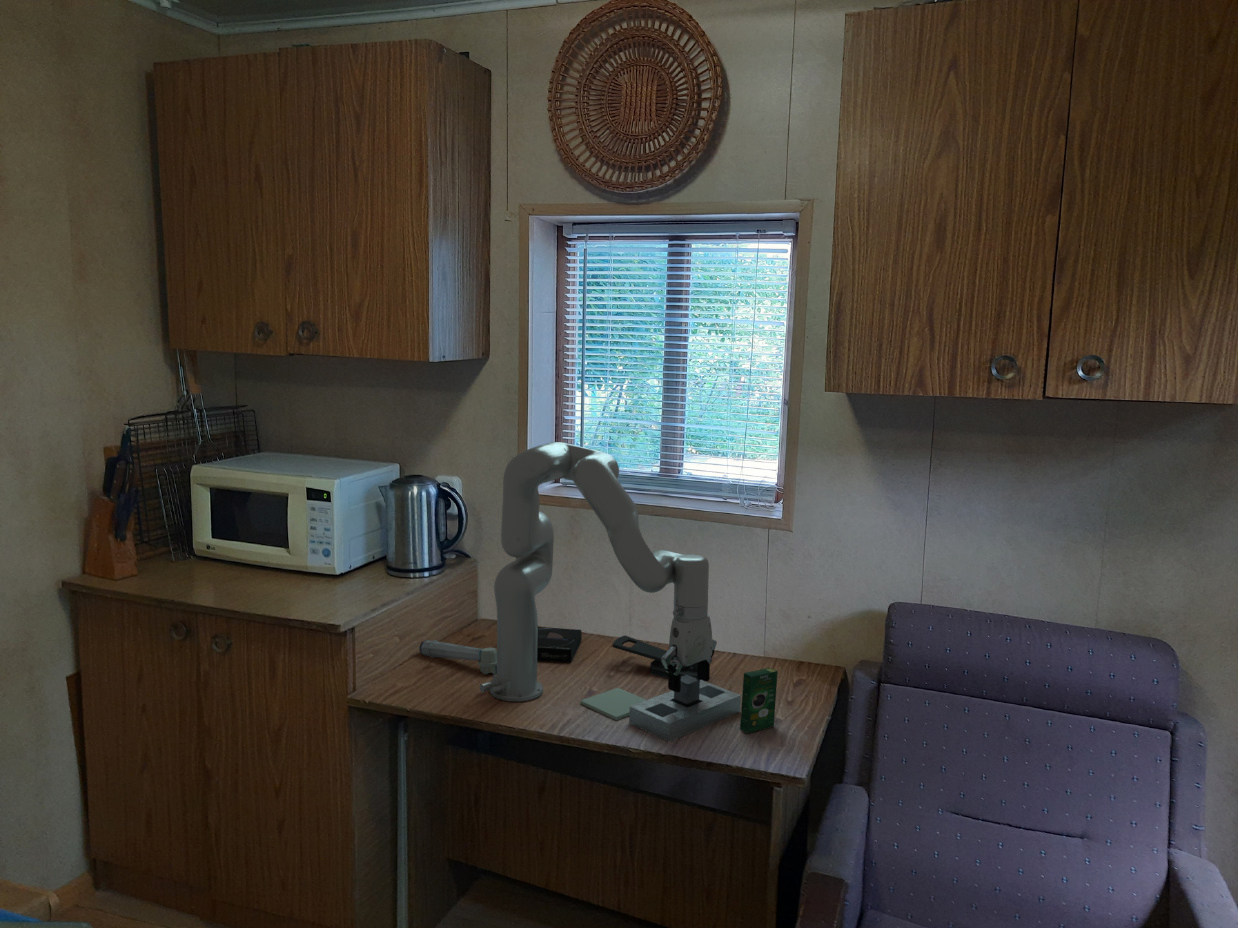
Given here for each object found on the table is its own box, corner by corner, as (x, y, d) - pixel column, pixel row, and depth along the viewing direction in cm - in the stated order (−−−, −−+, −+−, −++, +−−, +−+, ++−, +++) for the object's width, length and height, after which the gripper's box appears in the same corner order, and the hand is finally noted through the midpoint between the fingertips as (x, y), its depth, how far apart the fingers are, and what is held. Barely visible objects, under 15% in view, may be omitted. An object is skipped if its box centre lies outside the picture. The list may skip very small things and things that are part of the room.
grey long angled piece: (430, 637, 243) (504, 643, 230) (433, 661, 243) (507, 669, 230) (416, 642, 238) (491, 649, 225) (419, 667, 239) (494, 675, 226)
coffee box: (766, 721, 204) (769, 665, 203) (775, 726, 202) (778, 669, 200) (739, 729, 200) (742, 672, 198) (747, 734, 198) (750, 676, 196)
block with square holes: (668, 741, 193) (669, 723, 192) (629, 723, 201) (629, 706, 201) (740, 711, 209) (740, 695, 209) (700, 695, 218) (701, 679, 217)
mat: (616, 720, 203) (616, 716, 203) (580, 703, 211) (580, 700, 211) (653, 706, 211) (653, 702, 211) (617, 690, 220) (617, 687, 219)
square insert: (686, 722, 203) (688, 684, 201) (673, 717, 205) (674, 678, 204) (698, 718, 205) (699, 679, 204) (685, 712, 208) (686, 674, 207)
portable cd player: (581, 642, 254) (581, 629, 253) (571, 664, 237) (571, 649, 237) (523, 638, 256) (523, 625, 255) (509, 660, 239) (509, 645, 238)
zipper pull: (623, 633, 242) (713, 649, 231) (622, 657, 242) (711, 674, 232) (608, 643, 233) (701, 660, 223) (608, 668, 234) (700, 686, 224)
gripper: (676, 622, 193) (675, 700, 196) (728, 606, 205) (726, 679, 207) (651, 615, 199) (650, 690, 201) (703, 599, 210) (701, 671, 213)
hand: (688, 684), depth 204 cm, fingers open, 9 cm apart
